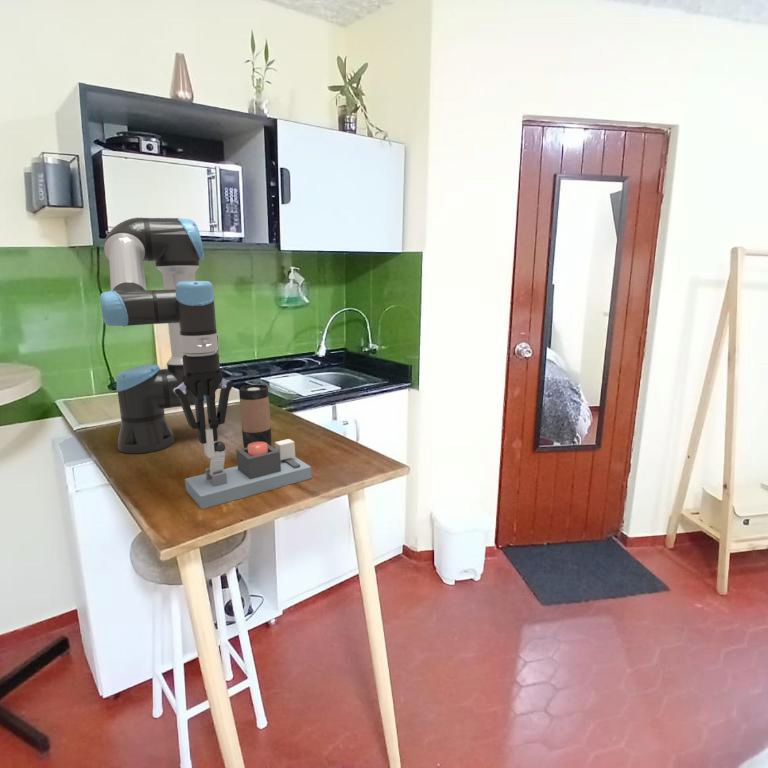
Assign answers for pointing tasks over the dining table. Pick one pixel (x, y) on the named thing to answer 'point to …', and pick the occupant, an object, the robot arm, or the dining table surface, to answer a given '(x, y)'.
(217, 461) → the lever
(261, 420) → the travel mug
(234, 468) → the panel
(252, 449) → the button
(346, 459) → the dining table surface
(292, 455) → the slider
